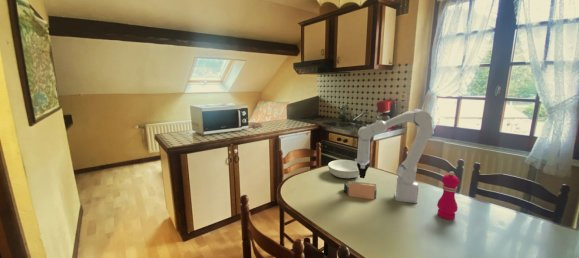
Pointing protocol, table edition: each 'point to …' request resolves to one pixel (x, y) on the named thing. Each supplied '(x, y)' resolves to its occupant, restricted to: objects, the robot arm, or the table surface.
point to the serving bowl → (344, 168)
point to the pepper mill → (448, 197)
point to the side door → (361, 190)
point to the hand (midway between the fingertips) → (362, 177)
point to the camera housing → (346, 186)
